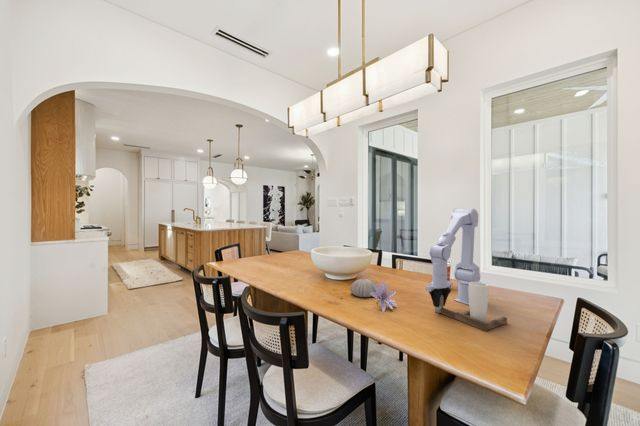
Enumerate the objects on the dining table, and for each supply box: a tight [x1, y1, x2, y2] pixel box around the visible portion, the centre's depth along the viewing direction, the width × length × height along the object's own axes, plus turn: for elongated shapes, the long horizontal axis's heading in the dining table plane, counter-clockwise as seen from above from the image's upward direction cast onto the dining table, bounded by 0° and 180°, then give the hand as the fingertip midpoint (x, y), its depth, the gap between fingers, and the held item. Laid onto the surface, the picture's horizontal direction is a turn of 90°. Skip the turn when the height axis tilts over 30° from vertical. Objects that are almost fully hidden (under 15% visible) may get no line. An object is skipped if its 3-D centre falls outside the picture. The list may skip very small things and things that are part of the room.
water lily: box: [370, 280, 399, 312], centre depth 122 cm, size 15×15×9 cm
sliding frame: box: [434, 295, 508, 332], centre depth 110 cm, size 15×22×7 cm
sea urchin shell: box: [349, 278, 377, 298], centre depth 138 cm, size 13×14×8 cm
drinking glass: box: [468, 281, 490, 322], centre depth 104 cm, size 7×7×15 cm
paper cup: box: [447, 261, 452, 289], centre depth 151 cm, size 8×8×14 cm
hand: (439, 305), depth 115 cm, fingers closed on sliding frame, 3 cm apart
